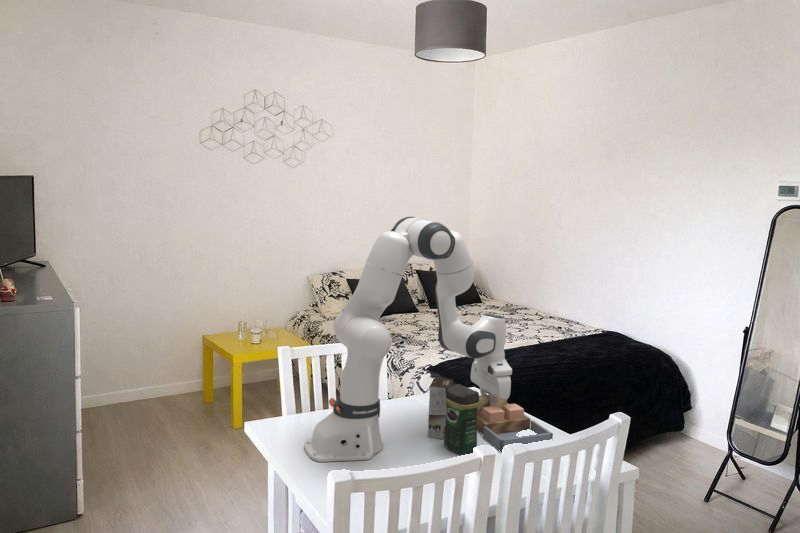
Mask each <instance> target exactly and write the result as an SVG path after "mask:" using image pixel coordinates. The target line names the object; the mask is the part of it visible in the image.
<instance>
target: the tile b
mask: <svg viewBox="0 0 800 533" xmlns="http://www.w3.org/2000/svg"><path fill="white" fill-rule="evenodd" d="M502 410H503V411H505V414H504V416H505V417H506V418H508V419H509V420H514V419H522V418H524V415H525V409H524V408H523V407H522V406H520V405H518V404H517V403H508V405H502Z"/></svg>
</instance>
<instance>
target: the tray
mask: <svg viewBox="0 0 800 533" xmlns="http://www.w3.org/2000/svg"><path fill="white" fill-rule="evenodd" d="M530 430H532V431H534V432H535V433H537V434H536V435H529V436H522V437H518V436H516V434H517V433H518V432H520V431H516V432H509V433H501V434H495V433H494V432H493V431H491V430H490V429H489V428H488V427H486V426H484V429H483V435H482V438H483V439H484V438H485V439H486V441H487V442H488V443H489V444H490V443H491V444H492V445H491V444H490V445H491V446H493V447H494V446H495V447H494V448H495V449H496V450H498V451H499V450H500V451H501V452H500V451H499V452H500V453H503V452H502V449H503V447H504V446H505V445H508V444H513V443H522V444H528V443H532V442H538V441H543V440H550V439H552V440H553V436H554V434H553V432H552V431H550V430H548V429H547V428H546V427H544V426H542V425H541V424H540V423H538V422H536V421H535V420H534V419H532V420H531V422H530ZM518 435H519V434H518ZM485 439H484V440H485Z"/></svg>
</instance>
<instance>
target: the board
mask: <svg viewBox="0 0 800 533" xmlns="http://www.w3.org/2000/svg"><path fill="white" fill-rule="evenodd" d="M508 404H509V403H508V402H507V405H508ZM500 409H502V407H500ZM484 426H486V427H488V428H489V429H490V430H491V431H493V432H494V433H495V434H501V433H509V432H516V431H522V430H527V429H530V428H531V418H530V417H529V416H528V415H526V414H524V418H522V419H514V420H509V419H508V418H506V417H505V416H504V421H498V422H489V421H487V420H486V419H485V418H483V417H482V410H477V431H478V432H477V433H480V434H481V435H482V436H483V429H484Z"/></svg>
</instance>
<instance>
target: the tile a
mask: <svg viewBox="0 0 800 533" xmlns="http://www.w3.org/2000/svg"><path fill="white" fill-rule="evenodd" d="M504 414H505V411H503V410H502V409H500V408H499V407H498V406H491V407H483V409H482V417H483V418H485V419H486V420H487V421H489V422H498V421H504Z"/></svg>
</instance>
